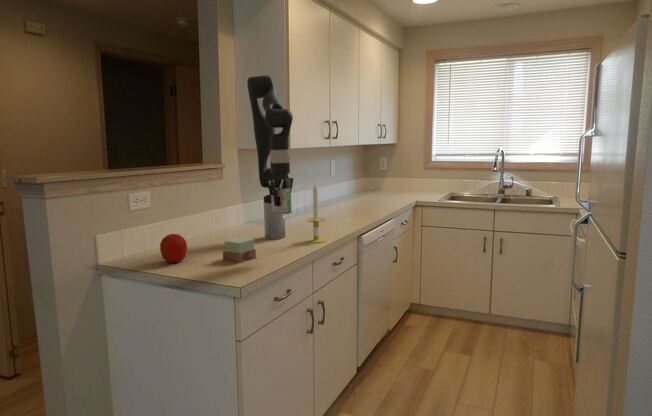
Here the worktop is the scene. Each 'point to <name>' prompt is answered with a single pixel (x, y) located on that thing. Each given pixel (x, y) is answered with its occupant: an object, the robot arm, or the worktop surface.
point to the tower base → (239, 256)
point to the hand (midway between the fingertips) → (281, 204)
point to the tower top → (239, 245)
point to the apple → (173, 248)
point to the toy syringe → (315, 219)
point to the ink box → (283, 201)
